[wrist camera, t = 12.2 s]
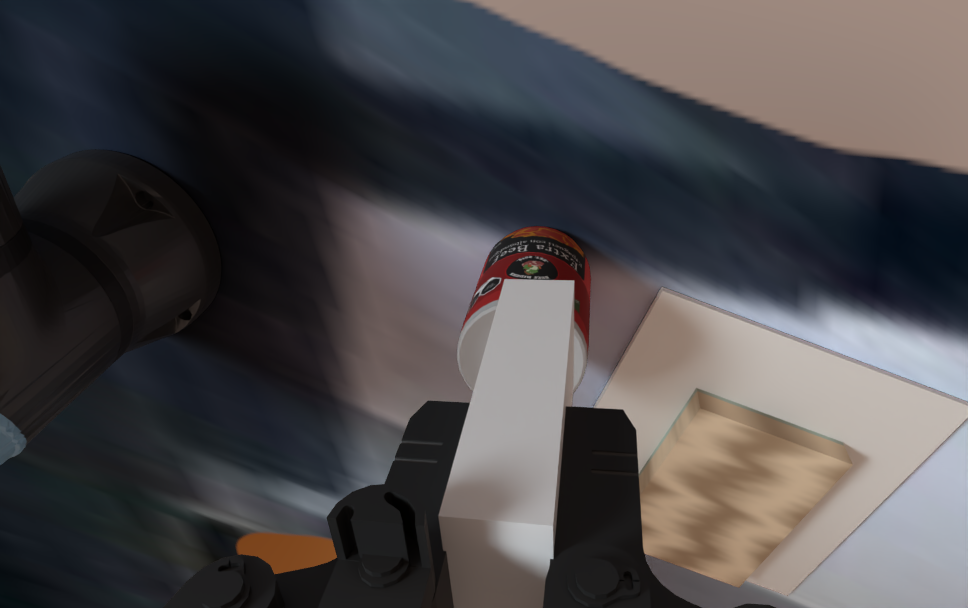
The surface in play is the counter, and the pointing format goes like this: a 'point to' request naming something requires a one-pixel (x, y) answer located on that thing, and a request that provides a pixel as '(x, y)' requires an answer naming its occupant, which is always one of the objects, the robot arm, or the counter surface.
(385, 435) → the counter surface
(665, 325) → the mat
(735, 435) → the tile
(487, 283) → the canned food
